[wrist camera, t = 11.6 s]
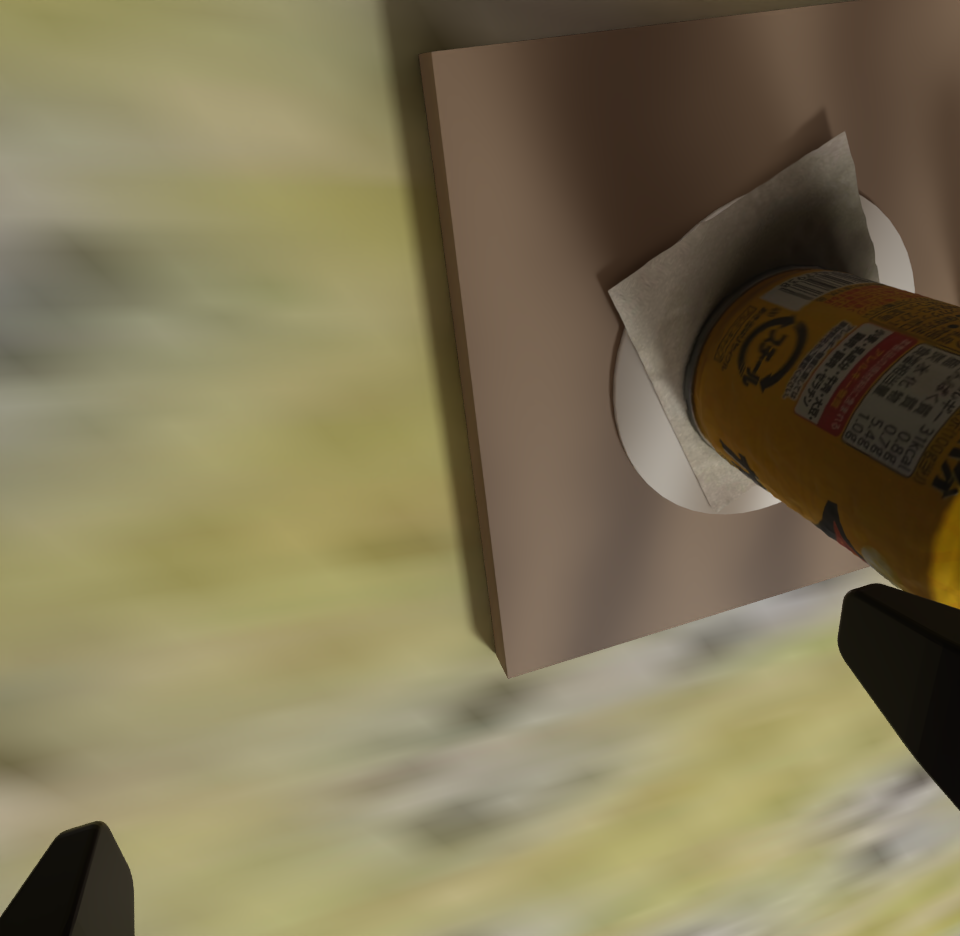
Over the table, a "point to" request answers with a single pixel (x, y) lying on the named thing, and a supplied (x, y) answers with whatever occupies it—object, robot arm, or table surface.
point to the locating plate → (628, 247)
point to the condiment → (810, 371)
